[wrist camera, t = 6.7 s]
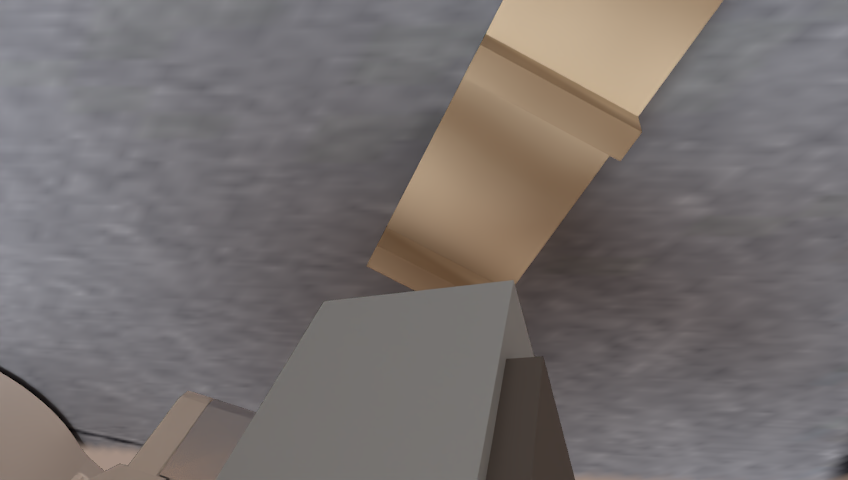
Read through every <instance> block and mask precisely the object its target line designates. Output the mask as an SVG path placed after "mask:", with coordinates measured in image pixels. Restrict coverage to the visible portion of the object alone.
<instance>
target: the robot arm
mask: <svg viewBox="0 0 848 480" xmlns="http://www.w3.org/2000/svg"><path fill="white" fill-rule="evenodd" d="M255 414H256V412H254V411H251V410H247V409H244V408H241V407H238V406H235V405H232V404H229V403H226V402H223V401H219V400H216V399H214V398H211V397H208V396H204V395H201V394H198V393H194V392H191V391H187V392H186V393H185V394H183V395H182V396H181V397H179V399H178V400H177V401H176V403H175V404H174V405H173V407H172V408H171V409H170V410H169V412H168V413H167V414H166V416H165V417H164V418H163V420H162V421H161V422H160V424H159V425H158V426H157V428H156V429H155V430H154V432H153V433H152V434H151V436H150V437H149V438H148V440H147V441H146V442H145V444H144V445H143V446H142V448H141V449H140V450H139V452H138V453H137V454H136V456H135V457H134V458H133V460H132V461H131V462H130V464H129V465H128V466H127V465H123V464H118V465H116V466H114V467H112V468H110V469H108V470H106V471H104V470H103V469H102V468H100V467H99V466H98V465H97V464H96V463H95V462H94V461H92V460H91V459H90V458H89V457H88V456H87V455H86V454H85V452H84V451H83V450H82V448H81V447H80V445H79V444H78V442H77V441H76V439H75V438H74V436H73V435H72V433H71V432H70V431H69V429H68V428H67V427H66V425H65V424H64V423H63V422H62V421H61V420H60V419H59V417H58V416H57V415H56V414H55V413H54V412H53V411H52V410H51V409H50V408H49V407H47V406H46V405H45V404H44V403H43V402H42V401H41V400H40V399H38V398H37V397H36V396H35V395H33V394H32V393H31V392H30V391H28V390H27V389H25V388H24V387H23V386H21V385H20V384H18V383H17V382H15V381H14V380H12V379H11V378H9V377H7V376H6V375H4V374H2V373H1V372H0V480H216V478H217V477H218V475H219V473H220V472H221V470H222V468H223V467H224V465H225V463H226V462H227V460H228V458H229V457H230V455H231V454H232V452H233V450H234V449H235V447H236V445H237V444H238V442H239V440H240V439H241V437H242V435H243V434H244V432H245V430H246V429H247V427H248V426H249V424H250V422H251V421H252V419H253V417H254V416H255Z"/></svg>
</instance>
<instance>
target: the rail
mask: <svg viewBox="0 0 848 480" xmlns="http://www.w3.org/2000/svg"><path fill="white" fill-rule="evenodd" d="M722 1H723V0H503V1H502V3H501V5H500V7H499V9H498V11H497V13H496V15H495V17H494V19H493V21H492V23H491V25H490V27H489V29H488V30H487V32H486V34H485V36H484V38H483V40H482V42H481V44H480V46H479V48H478V50H477V52H476V54H475V56H474V58H473V60H472V62H471V64H470V65H469V67H468V69H467V71H466V73H465V75H464V77H463V79H462V81H461V83H460V85H459V87H458V89H457V91H456V93H455V95H454V97H453V99H452V101H451V102H450V104H449V106H448V108H447V110H446V112H445V114H444V116H443V118H442V120H441V122H440V124H439V126H438V128H437V130H436V132H435V134H434V136H433V137H432V139H431V141H430V143H429V145H428V147H427V149H426V151H425V153H424V155H423V157H422V159H421V161H420V163H419V165H418V167H417V169H416V171H415V173H414V174H413V176H412V178H411V180H410V182H409V184H408V186H407V188H406V190H405V192H404V194H403V196H402V198H401V200H400V202H399V204H398V206H397V208H396V209H395V211H394V213H393V215H392V217H391V219H390V221H389V223H388V225H387V227H386V229H385V231H384V233H383V235H382V237H381V239H380V241H379V243H378V244H377V246H376V248H375V250H374V252H373V254H372V256H371V258H370V260H369V262H368V264H367V267H369V268H371V269H373V270H375V271H377V272H379V273H381V274H383V275H385V276H387V277H389V278H391V279H393V280H395V281H397V282H399V283H401V284H403V285H405V286H407V287H409V288H411V289H413V290H415V291H420V290H429V289H438V288H447V287H456V286H465V285H474V284H483V283H492V282H501V281H510V280H514V283H515V284H516V283H517V282H518V280H519V279H520V278H521V276H522V275H523V273H524V272H525V271H526V269H527V268H528V267H529V265H530V264H531V263H532V261H533V260H534V258H535V257H536V256H537V254H538V253H539V252H540V250H541V249H542V247H543V246H544V245H545V243H546V242H547V241H548V239H549V238H550V237H551V235H552V234H553V232H554V231H555V230H556V228H557V227H558V226H559V224H560V223H561V222H562V220H563V219H564V217H565V216H566V215H567V213H568V212H569V211H570V209H571V208H572V206H573V205H574V204H575V202H576V201H577V200H578V198H579V197H580V196H581V194H582V193H583V191H584V190H585V189H586V187H587V186H588V185H589V183H590V182H591V180H592V179H593V178H594V176H595V175H596V174H597V172H598V171H599V170H600V168H601V167H602V165H603V164H604V163H605V161H606V160H607V159H608V157H609V156H611V157H613V158H615V159H617V160H619V161H621V160H622V158H623V157H624V156H625V154H626V153H627V152H628V150H629V149H630V148H631V146H632V145H633V144H634V142H635V141H636V140H637V138H638V137H639V136H640V134H641V133H642V130H641V126H640V122H639V118H638V116H639V115H640V113H641V112H642V111H643V109H644V108H645V107H646V105H647V104H648V103H649V101H650V100H651V98H652V97H653V96H654V94H655V93H656V92H657V90H658V89H659V88H660V86H661V85H662V83H663V82H664V81H665V79H666V78H667V77H668V75H669V74H670V72H671V71H672V70H673V68H674V67H675V66H676V64H677V63H678V62H679V60H680V59H681V57H682V56H683V55H684V53H685V52H686V51H687V49H688V48H689V46H690V45H691V44H692V42H693V41H694V40H695V38H696V37H697V36H698V34H699V33H700V31H701V30H702V29H703V27H704V26H705V25H706V23H707V22H708V21H709V19H710V18H711V16H712V15H713V14H714V12H715V11H716V10H717V8H718V7H719V5H720V4H721V3H722Z"/></svg>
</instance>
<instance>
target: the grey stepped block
mask: <svg viewBox="0 0 848 480" xmlns="http://www.w3.org/2000/svg"><path fill="white" fill-rule="evenodd" d="M216 480H575V478H574V474H573V470H572V466H571V462H570V459H569V455H568V451H567V447H566V443H565V439H564V435H563V431H562V427H561V424H560V420H559V416H558V412H557V408H556V404H555V400H554V396H553V393H552V389H551V385H550V381H549V377H548V373H547V369H546V365H545V362H544V358H543V356H540V357H534V354H533V350H532V347H531V343H530V339H529V335H528V332H527V328H526V324H525V320H524V317H523V313H522V309H521V305H520V302H519V298H518V294H517V290H516V287H515V283H514V280H510V281H501V282H492V283H483V284H474V285H465V286H456V287H447V288H438V289H429V290H420V291H411V292H402V293H393V294H384V295H375V296H366V297H358V298H349V299H340V300H331V301H324V302H323V304H322V305H321V307H320V309H319V310H318V312H317V314H316V315H315V317H314V318H313V320H312V322H311V323H310V325H309V327H308V328H307V330H306V332H305V333H304V335H303V337H302V338H301V340H300V342H299V343H298V345H297V346H296V348H295V350H294V351H293V353H292V355H291V356H290V358H289V360H288V361H287V363H286V365H285V366H284V368H283V370H282V371H281V373H280V374H279V376H278V378H277V379H276V381H275V383H274V384H273V386H272V388H271V389H270V391H269V393H268V394H267V396H266V398H265V399H264V401H263V402H262V404H261V406H260V407H259V409H258V411H257V412H256V414H255V416H254V417H253V419H252V421H251V422H250V424H249V426H248V427H247V429H246V430H245V432H244V434H243V435H242V437H241V439H240V440H239V442H238V444H237V445H236V447H235V449H234V450H233V452H232V454H231V455H230V457H229V458H228V460H227V462H226V463H225V465H224V467H223V468H222V470H221V472H220V473H219V475H218V477H217V478H216Z"/></svg>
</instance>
